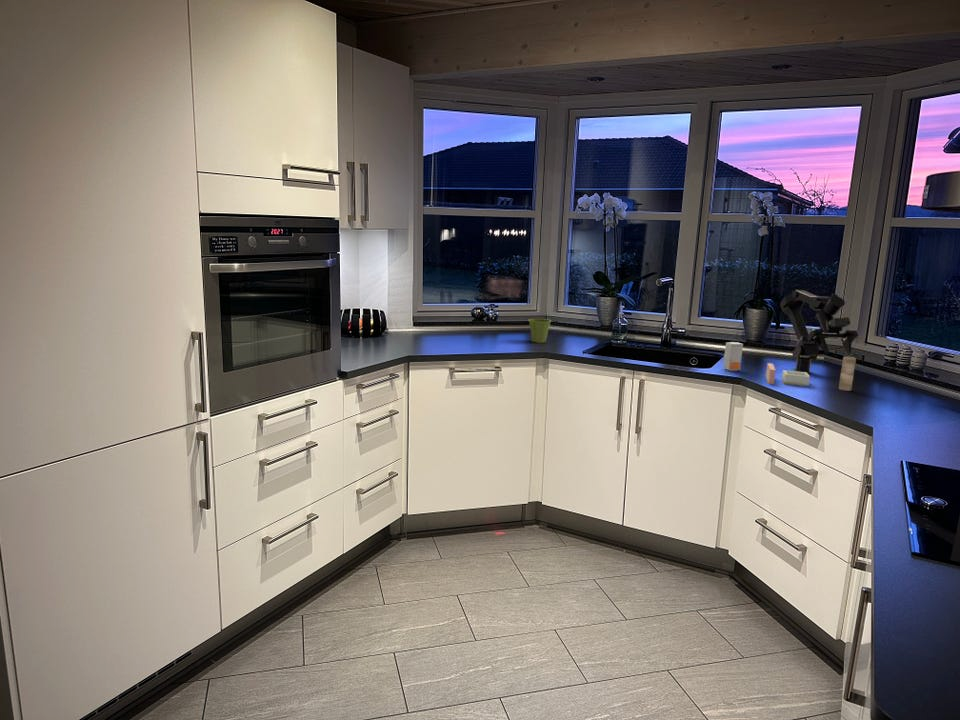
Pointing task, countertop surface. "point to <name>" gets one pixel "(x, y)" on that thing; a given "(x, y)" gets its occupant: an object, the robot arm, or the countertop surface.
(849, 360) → the dowel
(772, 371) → the backstop wall
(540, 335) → the plant pot
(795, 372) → the cradle
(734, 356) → the skincare box
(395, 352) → the countertop surface
